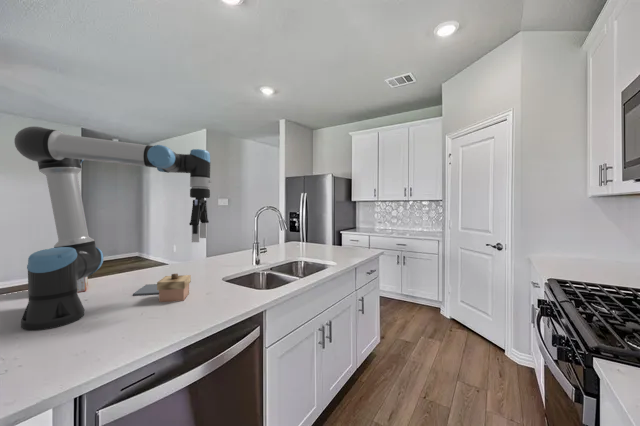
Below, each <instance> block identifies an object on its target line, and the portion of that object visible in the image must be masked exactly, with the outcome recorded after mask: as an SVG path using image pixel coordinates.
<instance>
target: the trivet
mask: <svg viewBox="0 0 640 426" xmlns="http://www.w3.org/2000/svg"><path fill="white" fill-rule="evenodd" d="M151 295H153V296H154V295H155V296H156V295H159V290H157V283H151V284H150V283H149V284H144V286H142V287H141V288H139V289H138V290H136V291H135V292H133V293H132V296H133V297H134V296H136V297H137V296H151Z"/></svg>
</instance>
